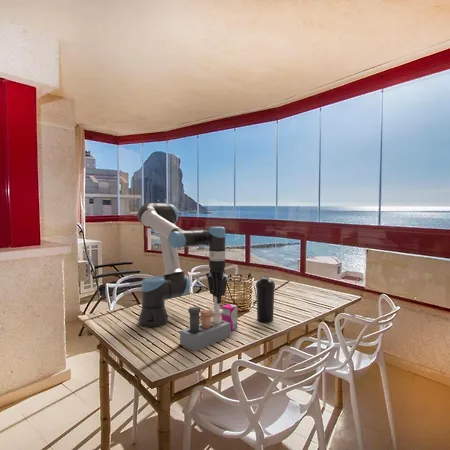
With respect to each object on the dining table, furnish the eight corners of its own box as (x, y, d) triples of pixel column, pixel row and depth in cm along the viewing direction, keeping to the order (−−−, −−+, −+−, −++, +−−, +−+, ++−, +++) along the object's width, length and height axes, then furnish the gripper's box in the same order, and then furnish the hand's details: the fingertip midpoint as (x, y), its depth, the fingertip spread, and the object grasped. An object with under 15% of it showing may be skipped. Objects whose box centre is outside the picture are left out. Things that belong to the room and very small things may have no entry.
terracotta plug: (198, 331, 132) (198, 311, 132) (206, 328, 136) (206, 308, 136) (205, 334, 129) (206, 314, 129) (214, 331, 133) (214, 311, 132)
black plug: (185, 330, 127) (185, 309, 127) (195, 326, 131) (195, 306, 131) (193, 333, 124) (193, 311, 123) (202, 329, 127) (203, 308, 127)
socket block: (179, 344, 128) (179, 330, 128) (215, 329, 144) (215, 317, 144) (195, 351, 121) (195, 337, 121) (230, 335, 137) (230, 322, 137)
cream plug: (209, 329, 138) (209, 310, 137) (216, 326, 141) (216, 307, 141) (217, 332, 134) (217, 312, 134) (224, 329, 138) (224, 310, 138)
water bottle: (275, 317, 161) (276, 276, 161) (273, 324, 152) (274, 280, 151) (257, 315, 164) (257, 275, 163) (254, 322, 154) (254, 279, 154)
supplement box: (228, 325, 150) (228, 303, 150) (237, 328, 146) (238, 305, 146) (221, 328, 146) (221, 306, 145) (230, 331, 142) (230, 308, 141)
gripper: (201, 259, 138) (201, 308, 139) (221, 262, 129) (221, 315, 130) (213, 257, 144) (213, 305, 145) (233, 260, 135) (232, 311, 136)
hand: (217, 309), depth 137 cm, fingers closed
